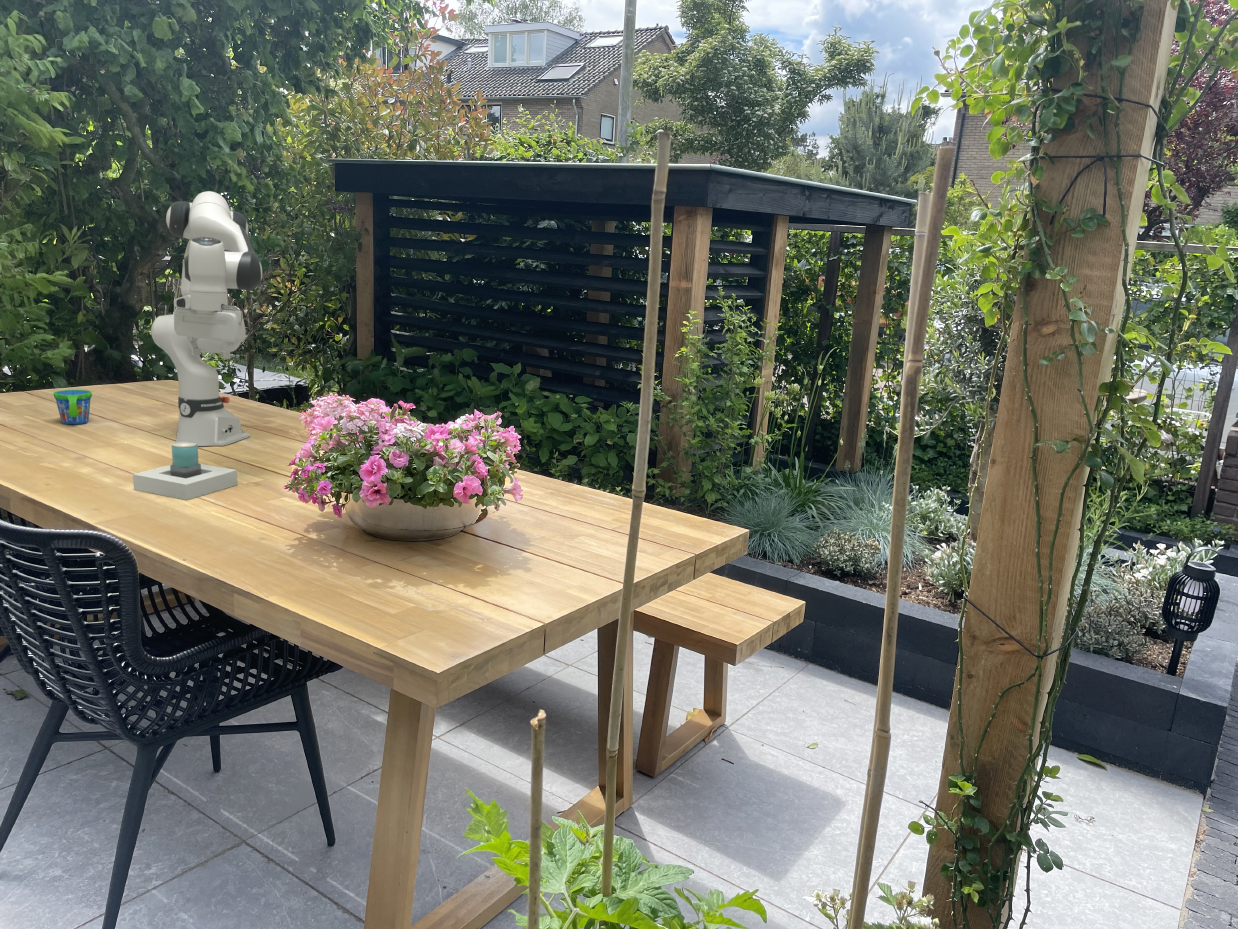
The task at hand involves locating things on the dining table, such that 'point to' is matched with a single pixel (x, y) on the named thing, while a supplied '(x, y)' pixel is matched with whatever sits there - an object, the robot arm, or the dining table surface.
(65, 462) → the dining table surface
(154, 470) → the tray
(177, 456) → the teal pot
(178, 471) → the block
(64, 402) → the snack cup
